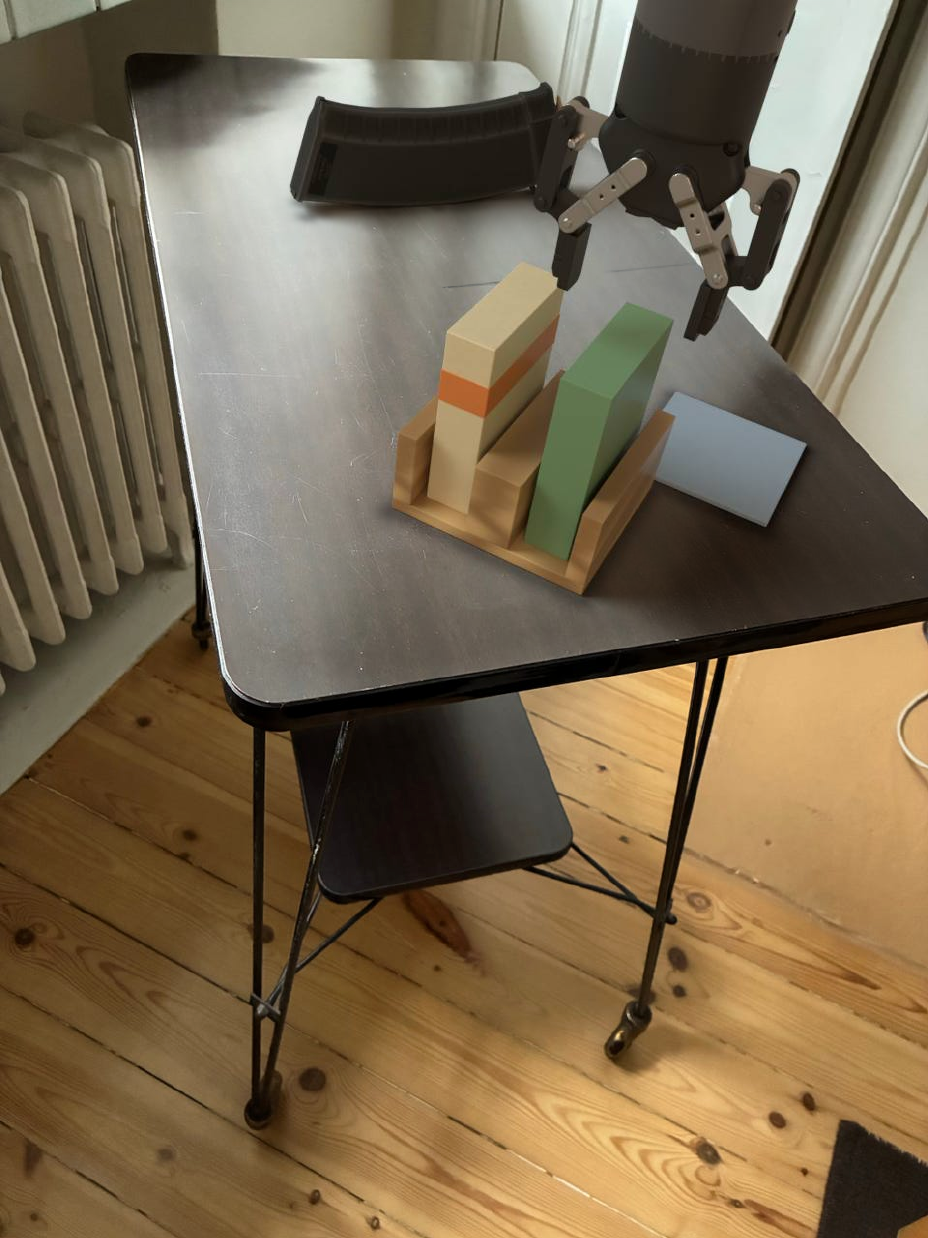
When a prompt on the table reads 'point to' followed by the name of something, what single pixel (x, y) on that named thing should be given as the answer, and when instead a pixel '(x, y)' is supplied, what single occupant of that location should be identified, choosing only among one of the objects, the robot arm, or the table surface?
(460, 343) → the cream book
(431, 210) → the table surface
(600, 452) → the green book
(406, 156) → the magazine
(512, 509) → the book rack
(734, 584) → the table surface
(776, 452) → the felt pad
